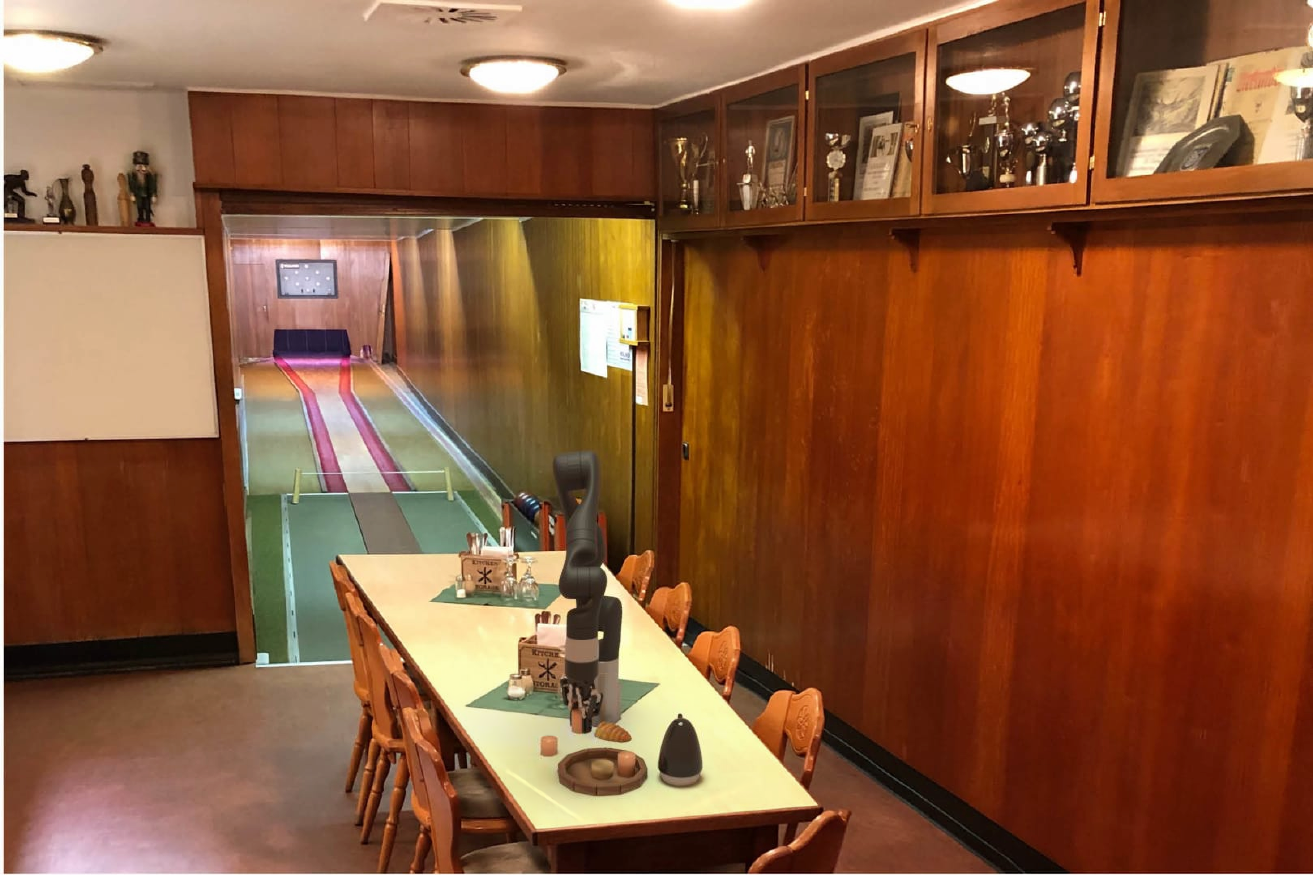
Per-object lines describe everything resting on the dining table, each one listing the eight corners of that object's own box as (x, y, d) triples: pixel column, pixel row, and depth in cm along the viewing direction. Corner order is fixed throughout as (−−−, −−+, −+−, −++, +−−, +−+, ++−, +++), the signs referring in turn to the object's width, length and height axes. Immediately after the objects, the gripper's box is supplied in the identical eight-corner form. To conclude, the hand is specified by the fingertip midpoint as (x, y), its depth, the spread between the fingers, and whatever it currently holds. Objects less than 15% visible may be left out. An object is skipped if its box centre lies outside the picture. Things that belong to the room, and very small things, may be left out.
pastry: (637, 741, 257) (637, 726, 257) (621, 750, 252) (621, 735, 251) (607, 731, 263) (607, 717, 262) (590, 740, 257) (591, 726, 257)
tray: (609, 752, 250) (610, 738, 250) (664, 782, 235) (664, 767, 235) (541, 775, 237) (541, 760, 237) (593, 808, 222) (594, 793, 222)
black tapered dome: (700, 771, 241) (702, 709, 239) (703, 792, 231) (705, 727, 229) (656, 771, 240) (658, 709, 238) (658, 792, 230) (659, 727, 228)
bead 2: (582, 725, 234) (582, 706, 233) (592, 731, 231) (593, 711, 230) (567, 729, 231) (568, 710, 230) (578, 735, 228) (578, 715, 227)
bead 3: (627, 767, 240) (628, 749, 239) (638, 773, 237) (639, 755, 236) (614, 772, 237) (614, 753, 237) (624, 778, 234) (625, 759, 234)
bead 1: (551, 751, 250) (551, 733, 249) (560, 757, 247) (560, 739, 246) (537, 756, 247) (537, 738, 247) (546, 761, 244) (547, 743, 244)
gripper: (614, 660, 226) (613, 735, 228) (577, 643, 236) (576, 715, 239) (586, 667, 221) (585, 744, 223) (549, 649, 232) (548, 723, 234)
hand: (580, 728), depth 231 cm, fingers closed on bead 2, 4 cm apart
